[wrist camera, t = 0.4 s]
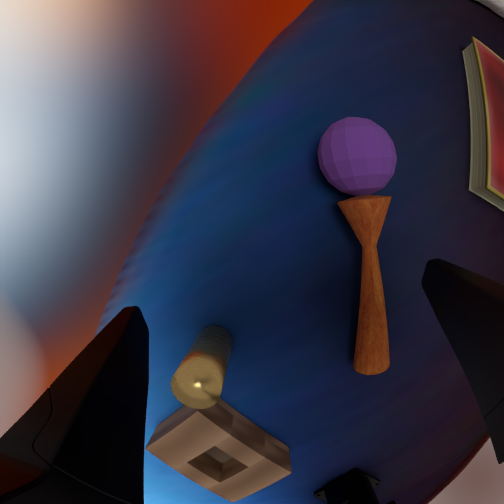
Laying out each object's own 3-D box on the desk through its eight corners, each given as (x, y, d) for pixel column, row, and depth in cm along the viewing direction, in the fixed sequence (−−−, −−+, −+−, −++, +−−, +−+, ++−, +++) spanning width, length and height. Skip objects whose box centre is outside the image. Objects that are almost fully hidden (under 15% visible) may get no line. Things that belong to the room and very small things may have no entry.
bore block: (288, 446, 23) (291, 472, 19) (235, 478, 24) (232, 502, 20) (206, 386, 23) (197, 410, 19) (157, 425, 24) (144, 448, 20)
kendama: (340, 388, 19) (311, 110, 16) (335, 352, 25) (311, 132, 22) (412, 376, 18) (396, 104, 15) (395, 343, 23) (377, 126, 21)
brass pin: (240, 342, 23) (231, 391, 15) (216, 363, 23) (198, 416, 15) (214, 318, 23) (192, 357, 15) (190, 340, 23) (161, 385, 15)
